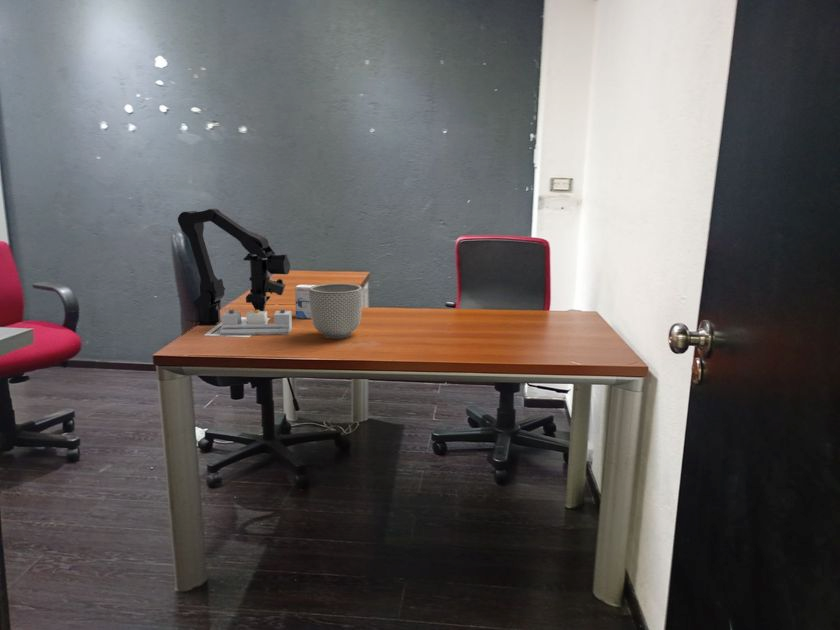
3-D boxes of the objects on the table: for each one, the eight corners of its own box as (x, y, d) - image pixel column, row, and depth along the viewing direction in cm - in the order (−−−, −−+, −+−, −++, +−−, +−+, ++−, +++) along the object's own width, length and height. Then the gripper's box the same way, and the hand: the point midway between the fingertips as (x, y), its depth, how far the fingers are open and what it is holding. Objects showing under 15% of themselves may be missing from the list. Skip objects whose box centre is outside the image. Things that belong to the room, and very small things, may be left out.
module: (247, 331, 207) (245, 312, 206) (250, 328, 212) (249, 308, 211) (265, 331, 208) (264, 311, 206) (267, 328, 213) (266, 308, 211)
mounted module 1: (222, 333, 205) (221, 312, 204) (226, 328, 211) (225, 308, 209) (237, 332, 206) (236, 312, 204) (241, 328, 211) (240, 308, 210)
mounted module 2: (274, 332, 206) (273, 311, 205) (277, 328, 212) (276, 308, 211) (289, 332, 207) (288, 311, 205) (291, 327, 213) (291, 307, 211)
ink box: (295, 318, 227) (294, 286, 224) (299, 315, 232) (298, 284, 229) (318, 319, 226) (317, 287, 224) (321, 315, 231) (320, 284, 228)
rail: (220, 335, 202) (219, 326, 202) (222, 333, 205) (222, 324, 205) (288, 334, 204) (288, 325, 203) (289, 332, 207) (289, 323, 206)
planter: (318, 345, 191) (317, 294, 188) (304, 332, 207) (302, 285, 203) (371, 339, 199) (370, 290, 195) (353, 327, 214) (352, 281, 210)
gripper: (278, 277, 203) (280, 324, 207) (286, 269, 221) (288, 311, 225) (244, 278, 202) (246, 324, 206) (255, 269, 220) (257, 312, 224)
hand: (261, 317), depth 215 cm, fingers closed
